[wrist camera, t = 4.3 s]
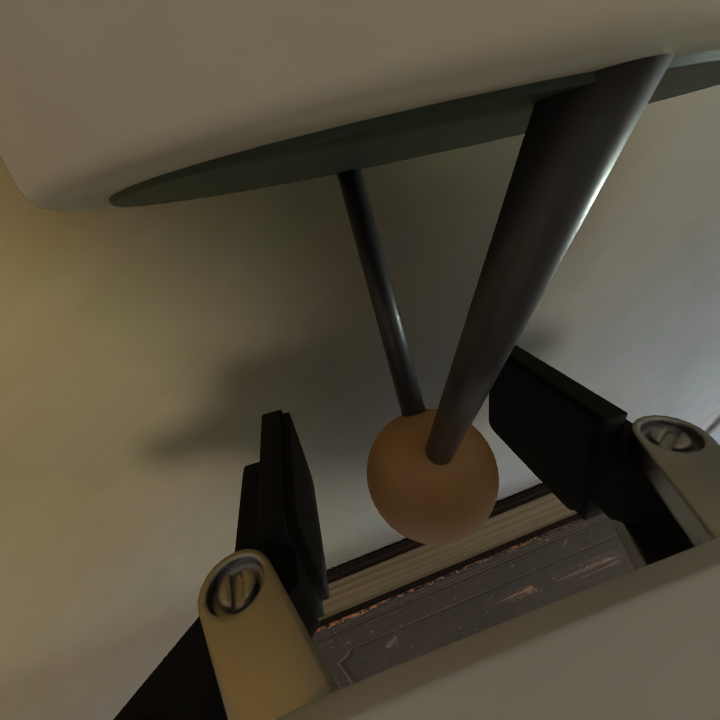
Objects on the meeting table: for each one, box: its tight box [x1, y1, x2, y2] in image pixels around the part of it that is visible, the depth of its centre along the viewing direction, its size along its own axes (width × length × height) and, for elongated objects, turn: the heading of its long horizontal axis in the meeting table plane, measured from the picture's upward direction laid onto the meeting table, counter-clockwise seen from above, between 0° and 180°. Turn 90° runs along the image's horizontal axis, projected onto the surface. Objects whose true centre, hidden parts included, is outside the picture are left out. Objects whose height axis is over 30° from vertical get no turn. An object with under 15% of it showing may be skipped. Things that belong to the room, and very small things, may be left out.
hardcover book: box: [312, 484, 635, 690], centre depth 20 cm, size 16×23×2 cm
